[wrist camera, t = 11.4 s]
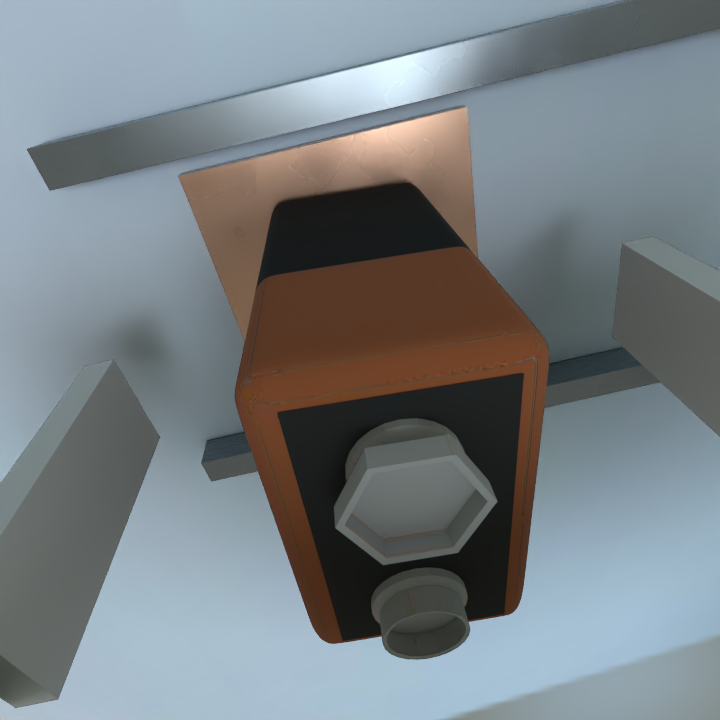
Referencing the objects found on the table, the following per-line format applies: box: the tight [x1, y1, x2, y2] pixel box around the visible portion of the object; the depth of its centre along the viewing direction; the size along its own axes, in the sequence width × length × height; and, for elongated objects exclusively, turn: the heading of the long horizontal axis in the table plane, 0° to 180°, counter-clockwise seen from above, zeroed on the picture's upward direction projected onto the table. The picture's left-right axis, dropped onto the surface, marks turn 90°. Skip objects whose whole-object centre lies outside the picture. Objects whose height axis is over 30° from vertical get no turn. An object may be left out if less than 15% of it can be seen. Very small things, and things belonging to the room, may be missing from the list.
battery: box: [235, 183, 549, 659], centre depth 11 cm, size 4×7×10 cm, turn 7°
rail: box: [27, 0, 720, 481], centre depth 15 cm, size 12×28×1 cm, turn 102°
